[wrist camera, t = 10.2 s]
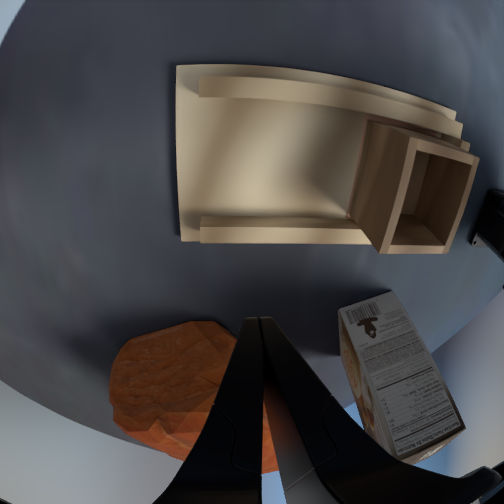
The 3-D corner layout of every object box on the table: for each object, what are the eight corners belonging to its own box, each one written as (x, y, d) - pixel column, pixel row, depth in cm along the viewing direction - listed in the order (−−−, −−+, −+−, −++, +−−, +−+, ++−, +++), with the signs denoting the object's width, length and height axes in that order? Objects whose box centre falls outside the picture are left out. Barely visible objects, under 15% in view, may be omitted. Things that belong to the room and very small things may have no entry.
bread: (214, 428, 42) (217, 482, 33) (103, 344, 28) (82, 428, 19) (302, 408, 40) (314, 467, 31) (228, 305, 25) (233, 415, 16)
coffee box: (387, 340, 31) (435, 454, 18) (339, 356, 31) (376, 479, 18) (394, 287, 26) (468, 428, 13) (334, 307, 26) (390, 466, 13)
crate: (434, 135, 16) (479, 157, 12) (413, 218, 20) (447, 253, 16) (367, 119, 16) (409, 136, 12) (349, 214, 20) (378, 253, 16)
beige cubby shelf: (451, 110, 16) (476, 118, 13) (417, 239, 23) (434, 259, 20) (178, 66, 14) (168, 63, 11) (182, 236, 21) (177, 261, 18)
